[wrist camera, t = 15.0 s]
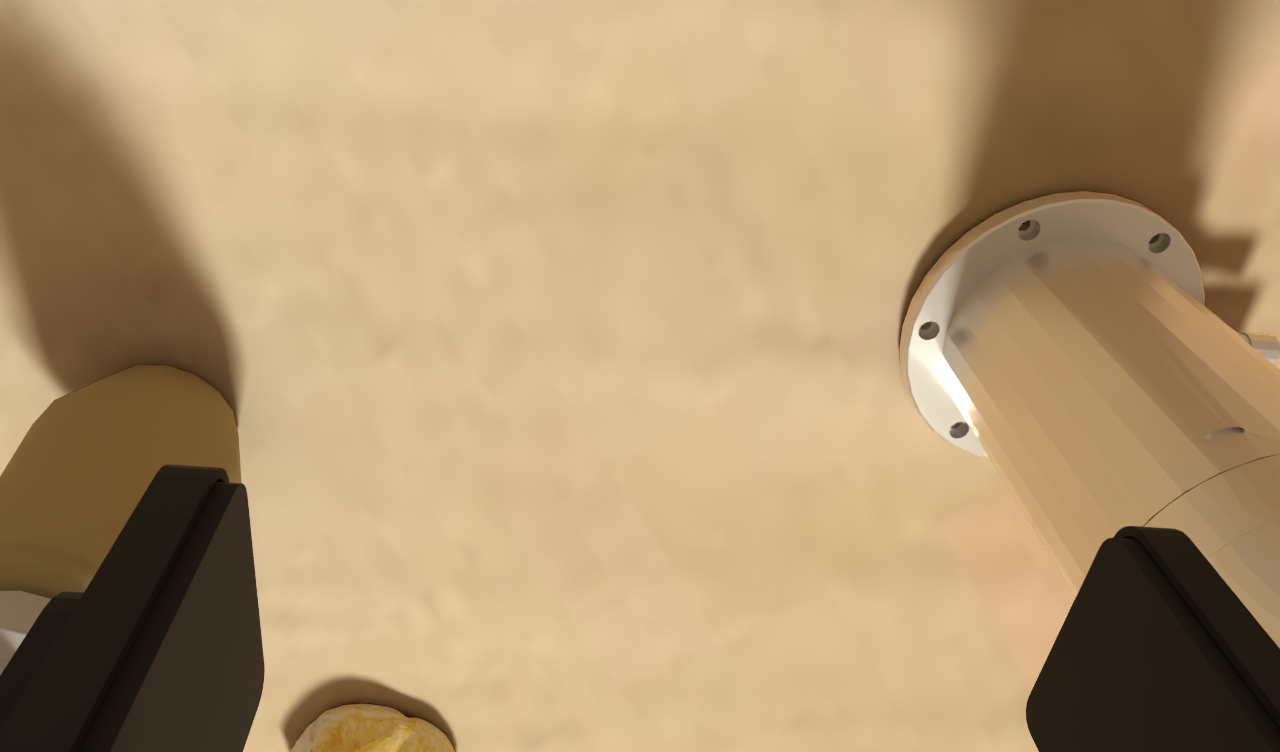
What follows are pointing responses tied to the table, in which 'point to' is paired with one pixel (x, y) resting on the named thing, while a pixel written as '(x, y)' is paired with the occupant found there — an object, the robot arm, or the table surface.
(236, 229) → the table surface
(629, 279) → the table surface
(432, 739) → the bread roll
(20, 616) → the squeeze bottle
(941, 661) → the table surface
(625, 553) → the table surface
